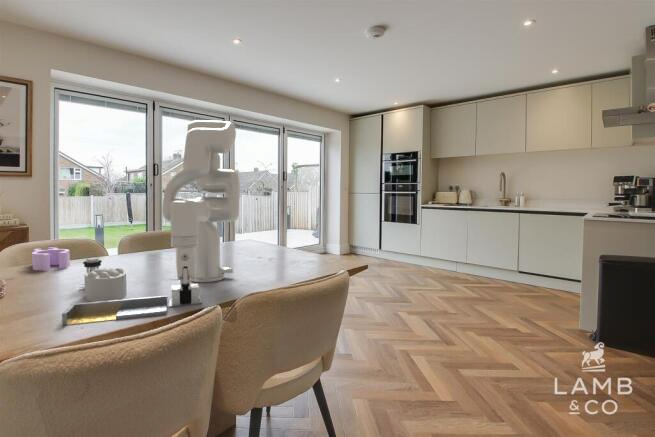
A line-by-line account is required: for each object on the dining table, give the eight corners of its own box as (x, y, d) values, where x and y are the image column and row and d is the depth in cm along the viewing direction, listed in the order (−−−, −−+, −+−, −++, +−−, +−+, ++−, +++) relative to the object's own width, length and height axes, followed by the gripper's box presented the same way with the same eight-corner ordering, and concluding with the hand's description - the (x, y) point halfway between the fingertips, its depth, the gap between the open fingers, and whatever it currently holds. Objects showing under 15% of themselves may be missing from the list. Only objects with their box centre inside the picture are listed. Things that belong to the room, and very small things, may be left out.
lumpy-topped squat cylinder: (117, 289, 118) (117, 264, 118) (133, 297, 110) (132, 270, 109) (81, 295, 110) (80, 269, 110) (95, 305, 102) (94, 276, 101)
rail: (167, 305, 103) (167, 295, 102) (166, 314, 95) (166, 303, 95) (71, 314, 94) (71, 304, 93) (62, 325, 86) (61, 313, 86)
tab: (200, 297, 111) (200, 296, 111) (201, 303, 104) (201, 302, 104) (169, 300, 107) (169, 299, 107) (169, 307, 101) (169, 306, 101)
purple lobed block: (26, 265, 152) (25, 249, 151) (61, 261, 161) (61, 246, 161) (37, 272, 139) (36, 255, 138) (74, 267, 148) (73, 251, 148)
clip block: (198, 297, 109) (198, 283, 109) (198, 301, 105) (198, 287, 105) (172, 300, 106) (172, 285, 106) (171, 304, 102) (171, 289, 102)
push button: (80, 291, 115) (79, 261, 114) (77, 287, 119) (76, 258, 118) (104, 287, 120) (103, 258, 119) (100, 284, 123) (99, 256, 123)
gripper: (199, 245, 98) (199, 307, 99) (197, 237, 114) (197, 291, 115) (170, 246, 95) (171, 310, 97) (172, 238, 111) (172, 293, 112)
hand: (185, 299), depth 106 cm, fingers closed on clip block, 4 cm apart
